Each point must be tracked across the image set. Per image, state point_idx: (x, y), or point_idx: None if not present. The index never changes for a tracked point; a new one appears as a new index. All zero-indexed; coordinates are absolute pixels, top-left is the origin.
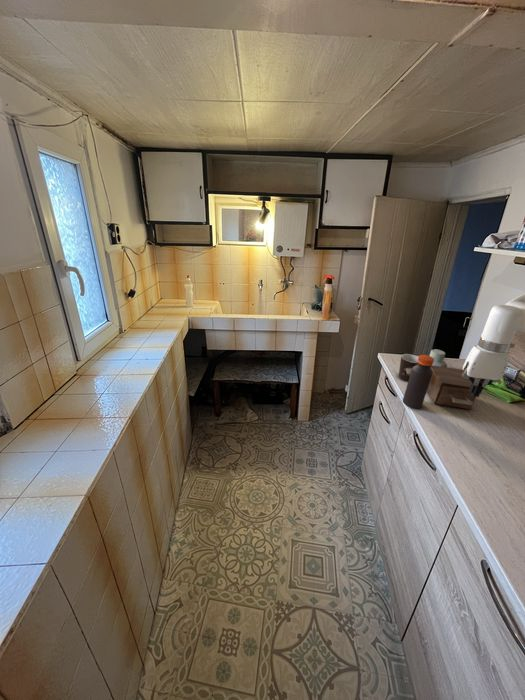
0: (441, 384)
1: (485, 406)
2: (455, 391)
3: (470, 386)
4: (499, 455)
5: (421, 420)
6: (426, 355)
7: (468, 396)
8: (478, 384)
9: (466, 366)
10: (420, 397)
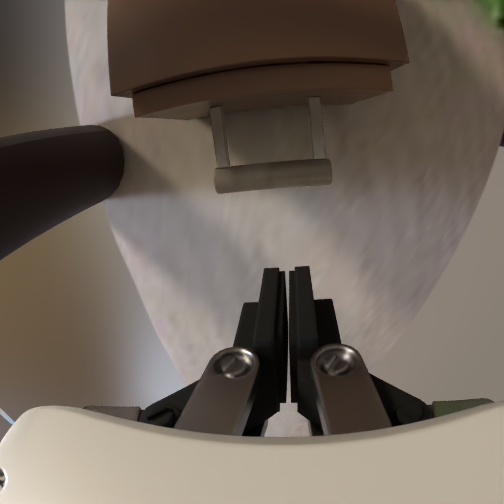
0: (121, 96)
1: (425, 49)
2: (231, 101)
3: (238, 328)
4: None
5: (129, 268)
6: None
7: (329, 95)
8: (296, 375)
9: (20, 457)
10: (73, 215)
